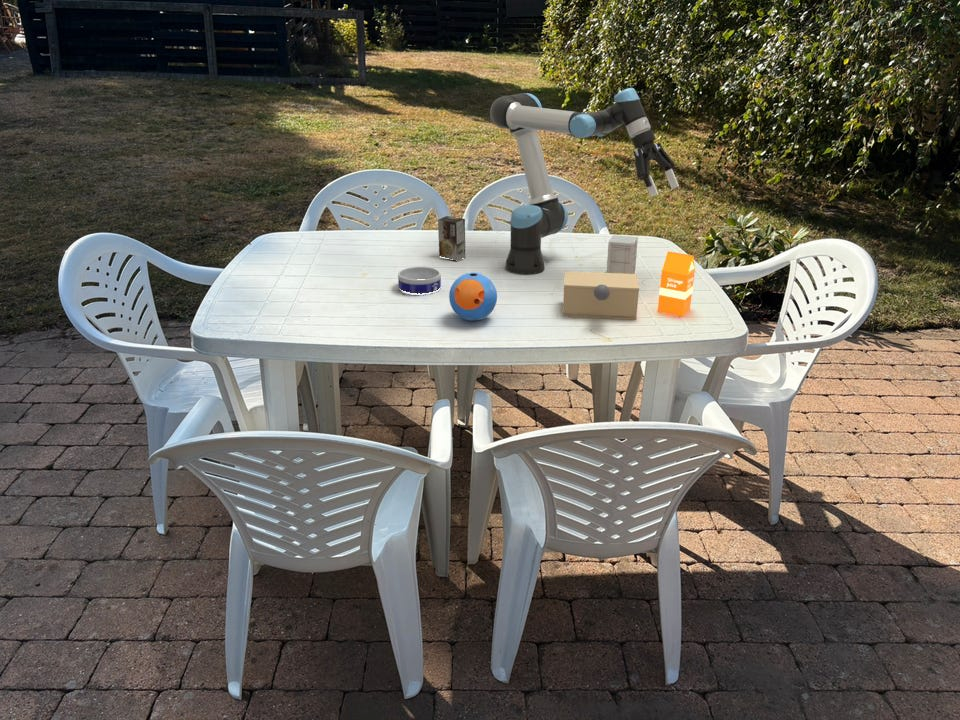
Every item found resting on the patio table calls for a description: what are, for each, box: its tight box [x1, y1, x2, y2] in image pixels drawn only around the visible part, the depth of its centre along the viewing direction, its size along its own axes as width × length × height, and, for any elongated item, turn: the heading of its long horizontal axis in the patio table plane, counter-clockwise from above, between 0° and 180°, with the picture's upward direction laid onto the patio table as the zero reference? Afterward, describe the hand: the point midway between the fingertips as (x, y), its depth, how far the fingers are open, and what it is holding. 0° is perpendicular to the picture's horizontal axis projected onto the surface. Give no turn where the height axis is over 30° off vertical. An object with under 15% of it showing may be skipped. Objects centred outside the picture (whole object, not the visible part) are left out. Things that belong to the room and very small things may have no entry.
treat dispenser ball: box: [448, 272, 498, 322], centre depth 250 cm, size 16×15×15 cm
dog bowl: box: [397, 266, 442, 294], centre depth 278 cm, size 15×15×6 cm
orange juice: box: [657, 250, 696, 317], centre depth 256 cm, size 8×9×20 cm
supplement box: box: [606, 234, 639, 274], centre depth 281 cm, size 10×9×17 cm
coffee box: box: [437, 215, 466, 262], centre depth 307 cm, size 9×6×16 cm
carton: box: [562, 286, 640, 321], centre depth 258 cm, size 24×14×10 cm, turn 83°
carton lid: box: [563, 270, 640, 300], centre depth 251 cm, size 24×24×5 cm
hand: (665, 191), depth 264 cm, fingers open, 13 cm apart
